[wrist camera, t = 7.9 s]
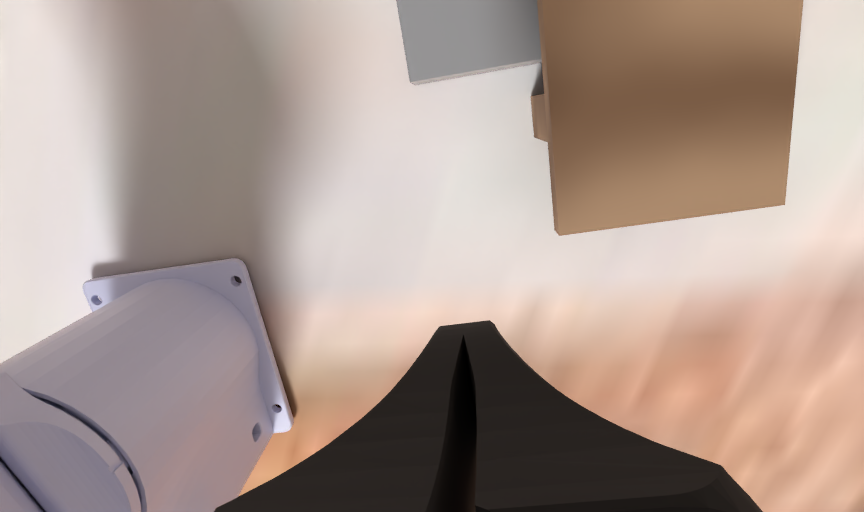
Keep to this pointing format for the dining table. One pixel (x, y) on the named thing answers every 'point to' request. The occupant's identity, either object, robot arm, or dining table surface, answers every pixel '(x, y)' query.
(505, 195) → the dining table surface
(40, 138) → the dining table surface
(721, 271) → the dining table surface
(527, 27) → the grey shell
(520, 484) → the robot arm
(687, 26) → the walnut shelf
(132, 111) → the dining table surface
